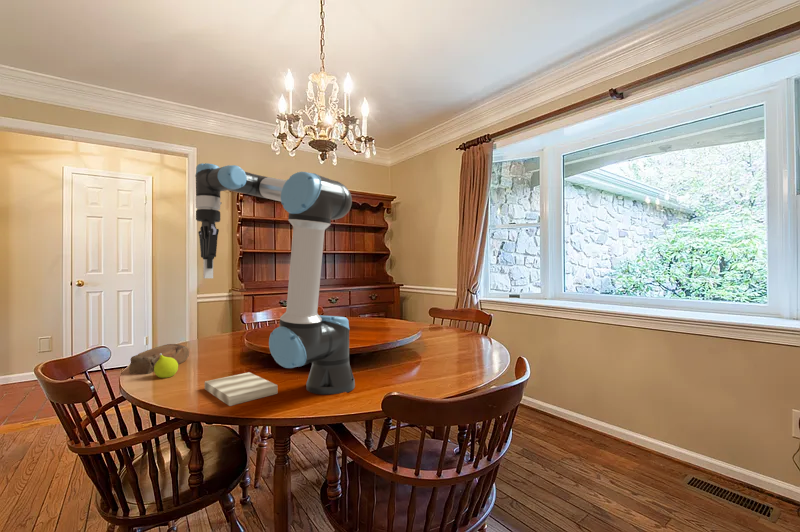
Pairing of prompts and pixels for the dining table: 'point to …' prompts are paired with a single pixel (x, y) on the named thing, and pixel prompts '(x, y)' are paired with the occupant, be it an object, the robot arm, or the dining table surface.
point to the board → (240, 388)
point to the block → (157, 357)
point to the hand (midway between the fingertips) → (208, 278)
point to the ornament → (165, 367)
